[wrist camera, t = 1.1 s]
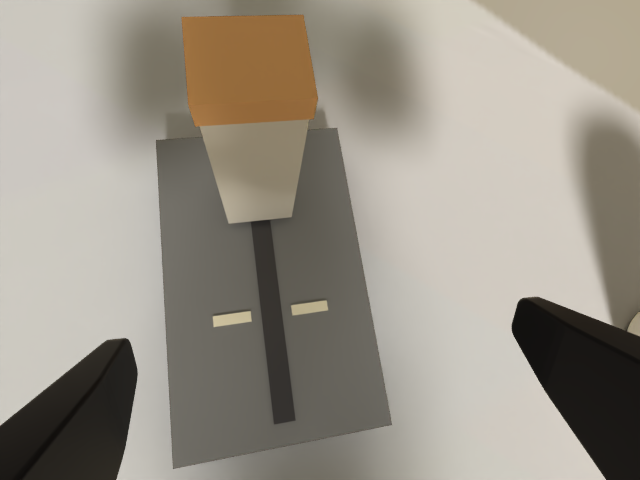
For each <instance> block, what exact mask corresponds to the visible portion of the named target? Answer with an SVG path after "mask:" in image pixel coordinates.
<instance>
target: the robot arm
mask: <svg viewBox="0 0 640 480" xmlns="http://www.w3.org/2000/svg"><path fill="white" fill-rule="evenodd" d="M512 333H513V335H514V337H515V339H516V341H517V343H518V344H519V346H520V348H521V350H522V352H523V353H524V355H525V357H526V359H527V360H528V362H529V364H530V366H531V368H532V369H533V371H534V373H535V375H536V376H537V378H538V380H539V382H540V383H541V385H542V387H543V388H544V390H545V392H546V393H547V395H548V396H549V398H550V399H551V401H552V402H553V404H554V405H555V406H556V408H557V409H558V411H559V412H560V414H561V415H562V417H563V418H564V419H565V421H566V422H567V424H568V425H569V427H570V428H571V430H572V431H573V432H574V434H575V435H576V437H577V438H578V440H579V441H580V443H581V444H582V445H583V447H584V448H585V450H586V451H587V453H588V454H589V456H590V457H591V458H592V460H593V461H594V463H595V464H596V466H597V467H598V469H599V470H600V471H601V473H602V474H603V476H604V477H605V479H606V480H640V336H638V335H635V334H632V333H630V332H627V331H625V330H622V329H620V328H617V327H614V326H612V325H609V324H607V323H604V322H602V321H599V320H596V319H594V318H591V317H589V316H586V315H584V314H581V313H578V312H576V311H573V310H571V309H568V308H566V307H563V306H560V305H558V304H555V303H553V302H550V301H548V300H545V299H542V298H540V297H528V298H522V299H520V300H519V302H518V304H517V308H516V311H515V315H514V318H513V322H512ZM137 375H138V373H137V366H136V362H135V358H134V354H133V350H132V347H131V343H130V341H129V340H128V339H126V338H122V339H112V340H107V341H105V342H104V343H102V344H101V345H100V346H99V347H97V348H96V349H95V350H94V351H92V352H91V353H90V354H89V355H87V356H86V357H85V358H84V359H82V360H81V361H80V362H79V363H77V364H76V365H75V366H74V367H73V368H71V369H70V370H69V371H68V372H66V373H65V374H64V375H63V376H61V377H60V378H59V379H58V380H56V381H55V382H54V383H53V384H51V385H50V386H49V387H48V388H46V389H45V390H44V391H43V392H41V393H40V394H39V395H38V396H37V397H35V398H34V399H33V400H32V401H30V402H29V403H28V404H27V405H25V406H24V407H23V408H22V409H20V410H19V411H18V412H17V413H15V414H14V415H13V416H12V417H10V418H9V419H8V420H7V421H5V422H4V423H3V424H2V425H1V426H0V480H116V479H117V475H118V472H119V469H120V465H121V462H122V458H123V454H124V450H125V446H126V441H127V435H128V429H129V424H130V418H131V412H132V406H133V401H134V395H135V389H136V383H137Z"/></svg>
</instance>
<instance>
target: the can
mask: <svg viewBox="0 0 640 480" xmlns="http://www.w3.org/2000/svg"><path fill="white" fill-rule="evenodd" d="M627 332H630V333H632V334H635V335H638V336H640V312H639V313H637V314H636V316H635V317H634V318H633V320H632V321H631V323H630V325H629V327H628V329H627Z"/></svg>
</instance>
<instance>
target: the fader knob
mask: <svg viewBox="0 0 640 480" xmlns="http://www.w3.org/2000/svg"><path fill="white" fill-rule="evenodd" d="M182 29H183V42H184V55H185V68H186V81H187V94H188V106H189V109H190V112H191V115H192V118H193V121H194V124H195V127H196V126H200V130H201V133H202V136H203V140H204V143H205V146H206V150H207V153H208V156H209V160H210V163H211V166H212V170H213V173H214V176H215V180H216V183H217V186H218V190H219V193H220V196H221V200H222V203H223V206H224V210H225V213H226V216H227V220H228V223H229V224H231V223H241V222H250V221H260V220H270V219H279V218H289V217H292V212H293V207H294V201H295V196H296V190H297V185H298V179H299V174H300V168H301V163H302V157H303V152H304V146H305V141H306V135H307V130H308V124H309V119H314V115H315V110H316V105H317V100H318V96H317V90H316V84H315V79H314V73H313V67H312V62H311V56H310V50H309V44H308V39H307V33H306V27H305V22H304V16H303V15H264V16H209V17H182Z"/></svg>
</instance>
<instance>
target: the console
mask: <svg viewBox="0 0 640 480" xmlns="http://www.w3.org/2000/svg"><path fill="white" fill-rule="evenodd" d="M156 150H157V169H158V189H159V208H160V227H161V246H162V265H163V285H164V304H165V323H166V342H167V362H168V381H169V400H170V419H171V438H172V458H173V469H175V468H180V467H185V466H190V465H195V464H199V463H204V462H209V461H214V460H219V459H224V458H229V457H234V456H239V455H244V454H249V453H254V452H259V451H264V450H269V449H274V448H279V447H284V446H289V445H294V444H299V443H304V442H309V441H314V440H319V439H324V438H329V437H334V436H339V435H344V434H349V433H354V432H359V431H364V430H369V429H374V428H379V427H384V426H389V425H392V422H391V417H390V411H389V406H388V400H387V395H386V390H385V384H384V379H383V373H382V368H381V363H380V357H379V352H378V346H377V341H376V336H375V330H374V325H373V319H372V314H371V309H370V303H369V298H368V292H367V287H366V282H365V276H364V271H363V265H362V260H361V255H360V249H359V244H358V238H357V233H356V228H355V222H354V217H353V211H352V206H351V201H350V195H349V190H348V185H347V179H346V174H345V168H344V163H343V158H342V152H341V147H340V141H339V136H338V131H337V128H329V129H314V130H307V135H306V141H305V146H304V152H303V157H302V163H301V168H300V174H299V179H298V185H297V190H296V196H295V201H294V207H293V212H292V217H289V218H279V219H270V220H260V221H250V222H241V223H231V224H229V223H228V220H227V216H226V213H225V210H224V206H223V203H222V200H221V196H220V193H219V190H218V186H217V183H216V180H215V176H214V173H213V170H212V166H211V163H210V160H209V156H208V153H207V150H206V146H205V143H204V140H203V137H195V138H181V139H166V140H156Z"/></svg>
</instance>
